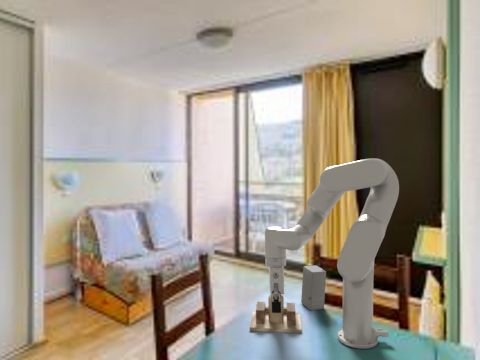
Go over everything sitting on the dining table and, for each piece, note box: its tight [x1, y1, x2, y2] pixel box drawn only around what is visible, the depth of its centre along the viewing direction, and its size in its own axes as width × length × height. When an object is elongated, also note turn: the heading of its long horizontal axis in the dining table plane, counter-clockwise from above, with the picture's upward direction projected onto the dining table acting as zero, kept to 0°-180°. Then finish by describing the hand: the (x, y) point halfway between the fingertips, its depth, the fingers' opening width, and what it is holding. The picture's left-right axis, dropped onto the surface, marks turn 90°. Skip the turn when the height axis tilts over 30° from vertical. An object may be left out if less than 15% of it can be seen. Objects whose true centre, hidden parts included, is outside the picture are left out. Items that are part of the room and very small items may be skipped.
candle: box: [267, 292, 285, 323], centre depth 131 cm, size 6×6×10 cm
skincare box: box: [300, 264, 327, 311], centre depth 147 cm, size 8×7×16 cm
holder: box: [249, 301, 303, 334], centre depth 132 cm, size 18×14×6 cm
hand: (276, 307), depth 132 cm, fingers open, 9 cm apart
